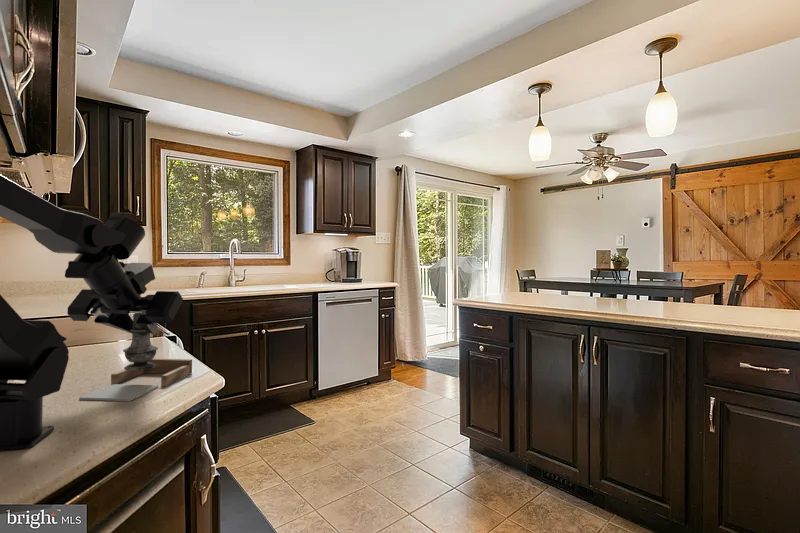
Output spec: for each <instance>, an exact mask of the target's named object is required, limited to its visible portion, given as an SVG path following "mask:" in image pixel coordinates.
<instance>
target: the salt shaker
mask: <svg viewBox="0 0 800 533" xmlns="http://www.w3.org/2000/svg"><path fill="white" fill-rule="evenodd" d="M139 317H140V313H134V314H133V316H132V320H133V329H131V331H132V334H131V338H132V339H131V343H130V345H129V346H128V347H126V348H124V349H123V350H122V351H123V353H124V357H125V359H126V360H127V361H128V362H129V363H130V364H128V365H126V366H124V369H125V370H145V369H150V368H154V367H156V365H155V364H153V363H151V362H147V361H150V360H152V359H153V358H155V356H156V354H157V350H159V347H158V346H155V345H154V344H152V343H151V342H152V341H151V333H149V332H147V331H146V330H145V329H143V328H142V327H140V326H138V325H137V324H136V322H137V320H138V318H139ZM124 369H123V370H124Z"/></svg>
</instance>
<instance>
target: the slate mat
mask: <svg viewBox="0 0 800 533" xmlns="http://www.w3.org/2000/svg"><path fill="white" fill-rule="evenodd" d="M158 388H159V385H156V384H128V383H126V384H123V383H122V384H121V383H119V384H111V383H110V384H109V385H107V386H104V387H102V388H99V389H96V390H94V391H92V392H90V393H87V394H85V395H81V396H80V397H78V398H79V399H78V400H80V401H81V400H82V401H109V402H111V401H112V402H131V400H132V401H133V399H134V400H136V399H137V398H140V397H142V396H144V395H146V394H148V393H150V392H152V391H154V390H156V389H158ZM135 398H136V399H135Z"/></svg>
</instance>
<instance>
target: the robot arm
mask: <svg viewBox="0 0 800 533" xmlns="http://www.w3.org/2000/svg"><path fill="white" fill-rule="evenodd" d="M0 218H2V219H4V220H6V221H9V222H11V223H13V224H15V225H17V226H20V227H21V228H24V229H26V230H28V231H29V232H30V233H32V234H33V237H34V239H35V240H36V241H37V242H38V243H39V244H40V245H42V246H44V247H45V248H46V249H48V250H49V251H50V252H52V253H56V254H70V255H71V254H73V255H74V254H76V255H77V256H76V257H75V259H73V260H68V263H67V268H66V270H65V272H64V277H65V278H66V279H83V281H84V282H85V283H86V284H87V286H88V287H89V288H86V289H85V288H84V289H81V290H80V291H79V293H78V294H77V295H76V297H75V298H74V299H73V300H72V301H71V302H70V304H69V305H68V307H67V311H66V312H67V315H68V316H69V317H70V319H71V320H72V322H74V321H75V322H88V321H89V319H90V318H91V316H92V315H93V316H94V317H95V319H93V320H94V324H101V325H104V326H107V327H111V328H114V329H116V330H121V331H122V332H126V333H129V334H131V335H132V331H131V329H133V318H132V317H131V315H130V313H132V314H133V313H134V314H135V313H140V317H139V318H138V320H137V322H136V324H137V325H138V326H140V327H142V328H143V329H145V330H146V331H147V332H149V333H150V335H153V336H155V335H156V334H157V332H158V324H169V323H171V322H172V321H174V320H173V319H175V316H176V314H177V313H178V310H179V309H180V307H181V306H182V303H183V301H184V299H183V296H182V294H181V293H180V291H177V290H174V291H173V290H158V291H156V292H155V294H146V295H145V296H142V295H144V294H145V293H146V292H147V290H148V289H147V287H146V285H148V284H149V283H150V282H151V281H155V280H156V275H155V271H154V268H153V264H152V263H150V262H131V263H124V262H123V261H124V260H128V259H129V258H130V257H131V256H132V254H133V252H135V250H136V249H137V247H138V246H139V245H140V244H141V242H142V241H143V239H144V238H145V235H146V231H145V227H143V226H142V225H141V224H140V223H138V222H137V221H136V220H133V219H131V218H128V217H127V216H126V215H125V213H124V212H113V213H111V214H110V215H109V217H108V219H107V220H106V222H105V223H104V222H103V221H102V220H101V219H99V218H98V217H97V218H96V217H95V216H91V215H89V214H86V213H82V212H78V211H73V210H70V209H68V210H67V209H64V208H63V207H62V208H61V207H59V206H57V205H55V204H53V203H52V202H50V201H48V200H46V199H44V198H43V197H41V196H39V195H38V194H36V193H34V192H32V191H30V190H29V189H26V188H25V187H23V186H21V185H20V184H18V183H16V182H15V181H13V180H11V179H10V178H8V177H6V176H4V175H3V174H1V173H0ZM89 312H90V313H89ZM66 340H67V337H64V336H63V335H62V334H60V332H59V330H58V329H57V328H56V326H55V324H54V323H52V322H51V321H50V320H39V319H38V320H35V319H34V320H31V319H23V318H22V317H21V316H20V315H19V314H18V312H17V311H16V310H15V309H14V308H13V307H12V305H10V303H9V302H8V301H7V300H6V298H4V297H3V295H1V294H0V451H3V450H2V449H9V450H17V449H18V450H19V449H27V448H31V447H33V446H34V445H36V443H38V442H39V441H40V440H42V439H43V438H44V437H46V436H47V435H49V434H50V433H51V432H53V431H54V430H55V425H43V420H44V419H43V415H44V414H43V413H44V412H43V408H44V405H43V404H44V403H43V402H44V397H46V396H49V395H52V394H54V393H57V392H59V391H60V390H61V386H62V383H63V379H64V377H65V373H66V369H67V367H68V366H67V365H68V363H69V358H70V357H69V353H70V352H69V349H68V348H69V347H68V346H67V344H66V343H65V342H66ZM8 381H20V382H21V381H24V382H23V383H22V382H21V383H20V382H8Z"/></svg>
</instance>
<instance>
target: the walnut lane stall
mask: <svg viewBox="0 0 800 533" xmlns="http://www.w3.org/2000/svg"><path fill="white" fill-rule="evenodd" d="M147 362H151V363H153V364H155V365H156V367H154V368H150V369H145V370H125V369H122V370H119V371H115V372H113V373H111V375H110V385H111V384H121V383H123V382H125V381H128V380H130V379H133V378H136V377H137V376H140V375H142V374H162V375H161V376H160V378H161V380H160V382H161V384H160V385H161V386H162V387H168V386H169V385H171V384H173V383H175V382H177V381H179V380H181V379H183V378H184V376H185V377H187V376H189V375H191V374H192V373H193V372H192V371H193V359H191V358H187V359H185V358H156V357H154V358H153V359H152V360H150V361H147ZM190 373H191V374H190ZM188 374H189V375H188ZM186 375H187V376H186ZM182 377H183V378H182ZM180 378H181V379H180ZM178 379H179V380H178ZM176 380H177V381H176ZM174 381H175V382H174Z"/></svg>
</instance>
